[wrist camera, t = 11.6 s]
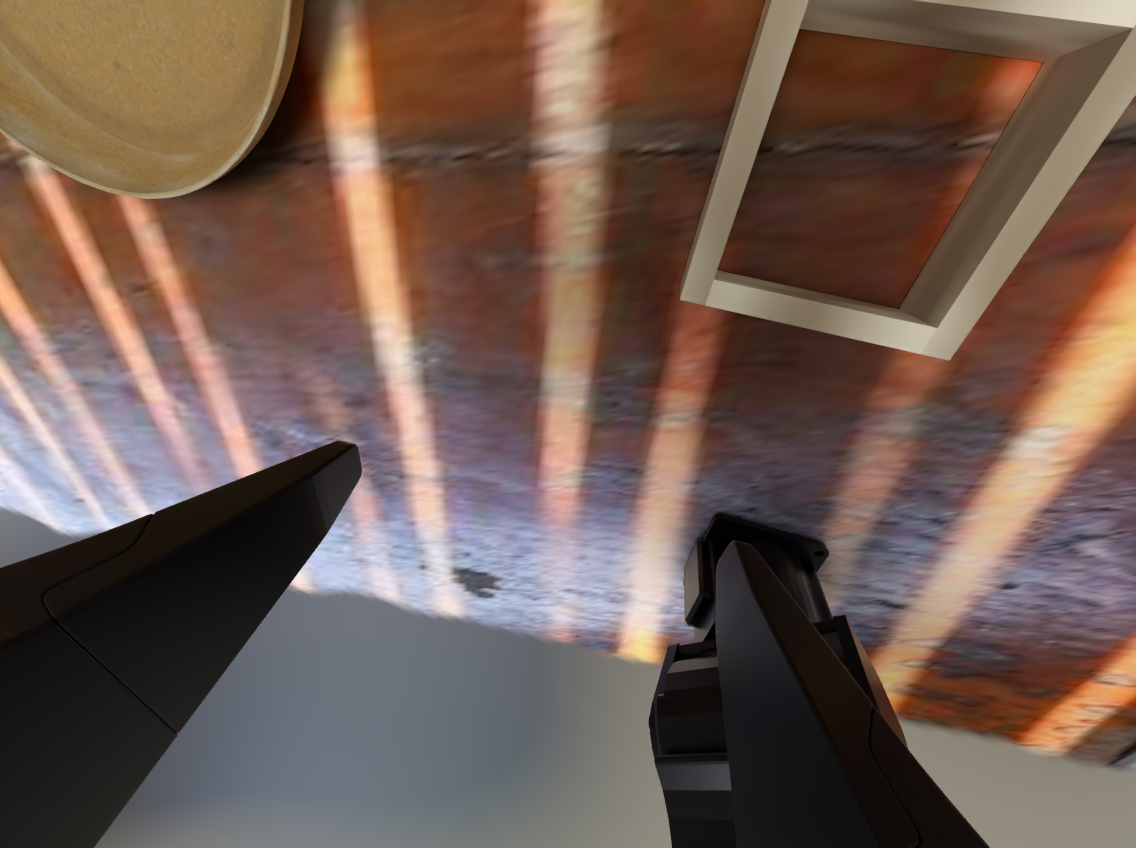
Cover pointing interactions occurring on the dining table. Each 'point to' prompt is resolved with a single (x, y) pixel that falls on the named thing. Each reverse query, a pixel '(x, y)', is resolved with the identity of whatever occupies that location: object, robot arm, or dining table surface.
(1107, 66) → the rack
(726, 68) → the dining table surface
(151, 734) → the robot arm
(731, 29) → the dining table surface
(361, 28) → the dining table surface
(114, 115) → the plant saucer
